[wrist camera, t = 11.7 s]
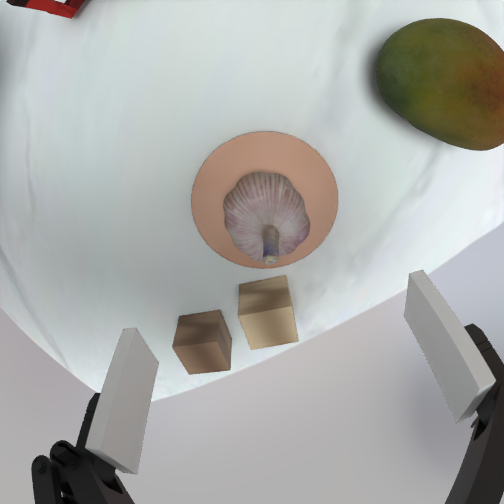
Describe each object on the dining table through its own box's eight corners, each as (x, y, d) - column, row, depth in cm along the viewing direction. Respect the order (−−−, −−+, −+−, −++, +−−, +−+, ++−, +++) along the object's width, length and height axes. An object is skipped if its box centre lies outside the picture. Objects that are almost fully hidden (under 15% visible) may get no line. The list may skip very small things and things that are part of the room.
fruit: (479, 127, 23) (545, 154, 14) (384, 156, 25) (442, 194, 16) (451, 21, 17) (520, 15, 9) (344, 36, 20) (396, 13, 11)
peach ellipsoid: (215, 272, 31) (214, 279, 30) (175, 150, 25) (172, 153, 24) (340, 247, 30) (343, 253, 29) (323, 118, 23) (327, 119, 22)
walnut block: (194, 343, 37) (189, 374, 33) (179, 315, 34) (172, 346, 30) (231, 338, 36) (230, 370, 32) (220, 309, 34) (216, 341, 30)
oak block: (250, 317, 35) (250, 349, 30) (239, 284, 32) (238, 316, 28) (293, 309, 34) (298, 341, 30) (285, 274, 32) (291, 305, 27)
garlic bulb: (284, 256, 29) (294, 312, 22) (210, 231, 27) (198, 283, 21) (320, 186, 25) (346, 227, 19) (240, 154, 24) (237, 183, 17)
